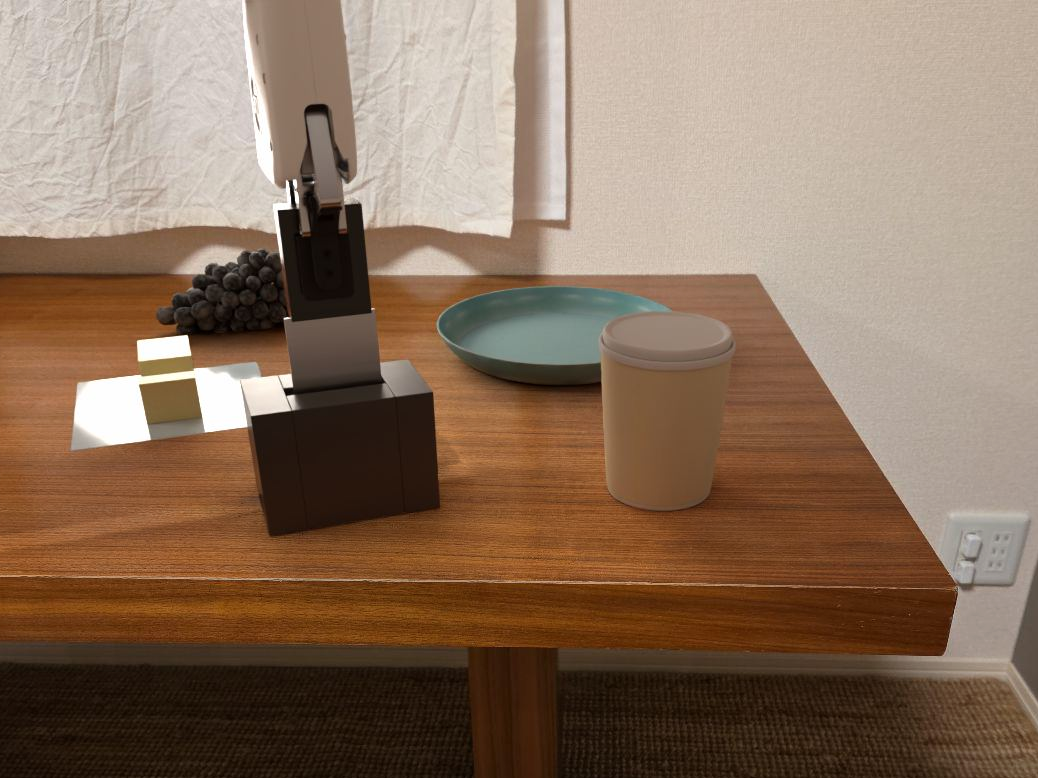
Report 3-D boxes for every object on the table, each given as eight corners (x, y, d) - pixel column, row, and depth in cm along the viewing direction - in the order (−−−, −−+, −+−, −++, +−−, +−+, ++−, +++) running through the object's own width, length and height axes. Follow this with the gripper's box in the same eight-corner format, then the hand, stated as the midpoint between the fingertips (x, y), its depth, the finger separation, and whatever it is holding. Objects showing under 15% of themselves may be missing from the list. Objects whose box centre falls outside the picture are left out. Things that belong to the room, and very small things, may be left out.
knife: (303, 451, 69) (270, 210, 61) (299, 440, 71) (266, 204, 63) (389, 438, 71) (368, 202, 63) (383, 427, 72) (361, 196, 65)
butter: (145, 400, 88) (137, 361, 86) (144, 377, 93) (136, 340, 91) (198, 393, 89) (191, 355, 87) (194, 371, 94) (187, 334, 92)
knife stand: (269, 536, 68) (250, 416, 64) (257, 493, 74) (239, 379, 70) (440, 507, 72) (433, 391, 68) (416, 468, 78) (408, 358, 73)
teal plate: (400, 382, 94) (398, 348, 92) (482, 308, 114) (481, 279, 113) (657, 407, 88) (659, 371, 87) (695, 325, 108) (698, 294, 107)
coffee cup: (667, 450, 80) (677, 302, 74) (748, 495, 73) (766, 335, 68) (570, 479, 76) (572, 323, 70) (647, 529, 69) (656, 362, 63)
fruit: (143, 258, 98) (298, 240, 103) (143, 267, 106) (287, 249, 110) (163, 348, 100) (314, 326, 105) (163, 350, 107) (303, 329, 112)
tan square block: (147, 424, 83) (138, 384, 81) (146, 416, 84) (138, 377, 83) (202, 417, 84) (195, 377, 82) (201, 409, 86) (193, 370, 84)
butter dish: (72, 462, 79) (70, 451, 78) (79, 392, 92) (76, 382, 92) (280, 433, 84) (278, 422, 83) (258, 371, 97) (256, 361, 96)
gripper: (209, -32, 62) (253, 268, 71) (233, -33, 49) (283, 335, 58) (330, -33, 64) (359, 258, 73) (385, -34, 51) (411, 320, 60)
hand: (325, 290), depth 66 cm, fingers closed on knife, 2 cm apart
